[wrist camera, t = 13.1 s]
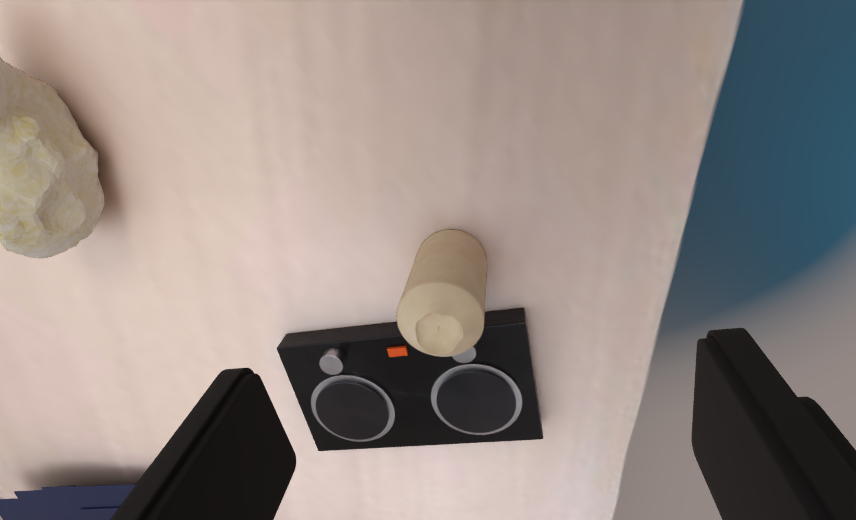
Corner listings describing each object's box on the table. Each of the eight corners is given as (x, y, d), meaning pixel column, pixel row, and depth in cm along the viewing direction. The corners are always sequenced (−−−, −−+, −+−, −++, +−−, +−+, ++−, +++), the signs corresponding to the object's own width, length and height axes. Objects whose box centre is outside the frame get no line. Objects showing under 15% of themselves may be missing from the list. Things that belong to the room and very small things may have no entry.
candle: (413, 229, 37) (386, 294, 28) (486, 227, 36) (482, 294, 27) (420, 292, 39) (396, 370, 30) (488, 291, 38) (485, 372, 30)
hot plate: (286, 333, 43) (270, 357, 40) (524, 307, 39) (526, 331, 36) (325, 433, 48) (313, 461, 45) (541, 420, 44) (544, 450, 40)
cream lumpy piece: (121, 249, 44) (132, 230, 32) (19, 271, 40) (-15, 258, 27) (69, 81, 42) (58, -9, 30) (-43, 85, 38) (-108, -17, 26)
